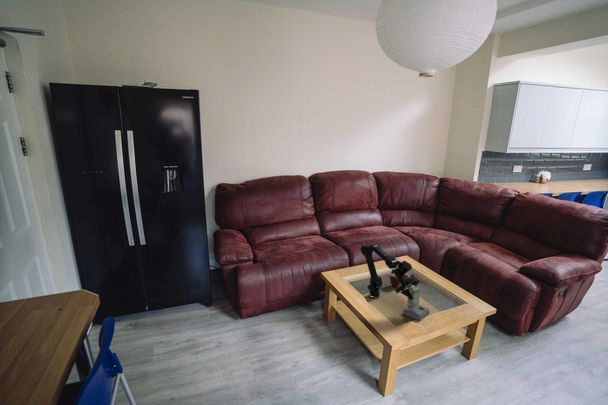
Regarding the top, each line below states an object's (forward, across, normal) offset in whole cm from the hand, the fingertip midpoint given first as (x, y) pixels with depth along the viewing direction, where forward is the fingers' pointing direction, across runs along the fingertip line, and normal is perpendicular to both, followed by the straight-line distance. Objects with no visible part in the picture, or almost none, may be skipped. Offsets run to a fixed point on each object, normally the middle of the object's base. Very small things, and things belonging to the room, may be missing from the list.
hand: (415, 298), depth 185 cm
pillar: (+4, 0, +6) cm, 7 cm away
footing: (+8, +4, +10) cm, 14 cm away
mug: (-15, +25, +34) cm, 45 cm away
